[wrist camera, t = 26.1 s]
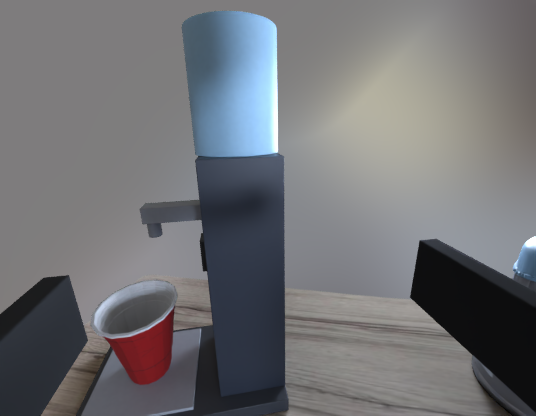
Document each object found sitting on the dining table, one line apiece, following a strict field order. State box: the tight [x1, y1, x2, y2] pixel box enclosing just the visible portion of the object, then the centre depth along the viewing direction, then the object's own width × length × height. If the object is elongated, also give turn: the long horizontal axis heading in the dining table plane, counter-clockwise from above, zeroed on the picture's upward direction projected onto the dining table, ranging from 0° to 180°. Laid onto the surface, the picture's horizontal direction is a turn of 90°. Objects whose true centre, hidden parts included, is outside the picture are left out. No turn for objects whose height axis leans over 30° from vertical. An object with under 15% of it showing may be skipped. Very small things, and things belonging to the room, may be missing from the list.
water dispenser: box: [76, 11, 288, 416], centre depth 34 cm, size 28×16×47 cm, turn 100°
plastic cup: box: [91, 280, 177, 385], centre depth 38 cm, size 11×11×12 cm
